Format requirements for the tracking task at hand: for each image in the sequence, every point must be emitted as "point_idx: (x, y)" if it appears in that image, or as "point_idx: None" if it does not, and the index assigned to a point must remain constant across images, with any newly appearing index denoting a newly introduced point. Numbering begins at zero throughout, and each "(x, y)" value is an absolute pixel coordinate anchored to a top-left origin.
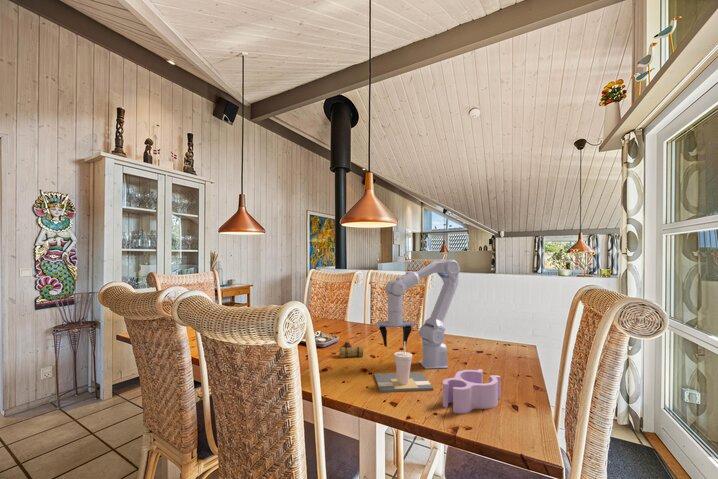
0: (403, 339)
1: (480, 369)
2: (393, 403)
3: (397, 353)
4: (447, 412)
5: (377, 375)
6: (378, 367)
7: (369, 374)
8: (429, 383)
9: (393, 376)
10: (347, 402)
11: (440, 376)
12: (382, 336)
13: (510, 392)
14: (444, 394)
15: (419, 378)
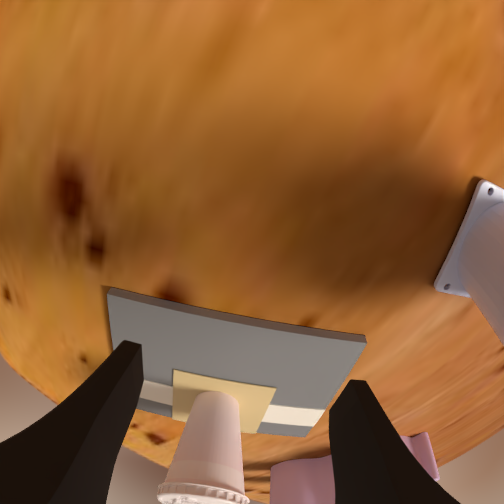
0: (361, 433)
1: (436, 479)
2: (155, 438)
3: (174, 502)
4: (263, 475)
5: (121, 318)
6: (159, 172)
7: (91, 263)
8: (314, 421)
9: (198, 351)
10: (48, 395)
11: (418, 364)
12: (63, 411)
13: (459, 438)
14: (270, 493)
15: (308, 390)
